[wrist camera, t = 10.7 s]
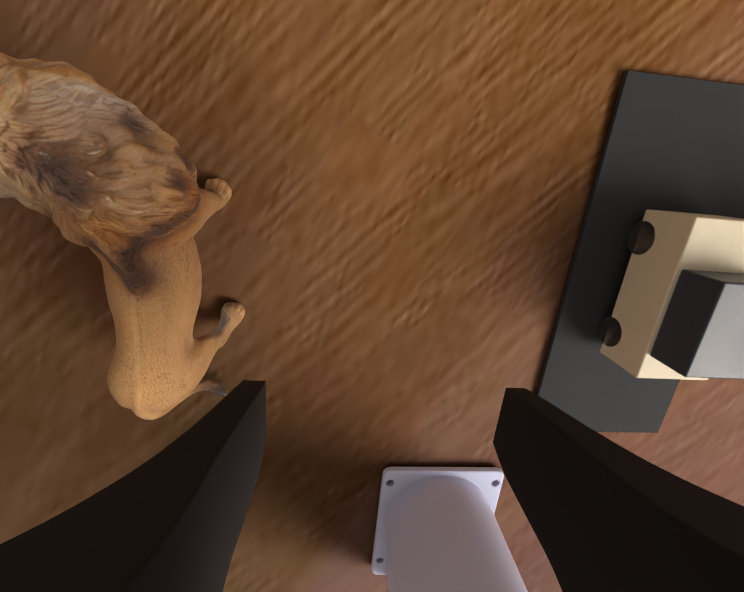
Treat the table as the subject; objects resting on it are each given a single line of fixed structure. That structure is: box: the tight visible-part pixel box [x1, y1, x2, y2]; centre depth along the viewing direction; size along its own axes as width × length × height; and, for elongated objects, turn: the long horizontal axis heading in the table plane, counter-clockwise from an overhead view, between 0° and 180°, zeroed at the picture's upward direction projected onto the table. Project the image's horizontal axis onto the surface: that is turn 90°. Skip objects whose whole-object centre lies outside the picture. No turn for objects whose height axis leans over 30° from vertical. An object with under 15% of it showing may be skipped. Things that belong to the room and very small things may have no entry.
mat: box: [536, 70, 744, 433], centre depth 21 cm, size 20×9×1 cm, turn 175°
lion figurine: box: [0, 52, 245, 420], centre depth 14 cm, size 15×5×9 cm, turn 5°
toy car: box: [599, 209, 744, 380], centre depth 18 cm, size 8×4×5 cm, turn 175°
